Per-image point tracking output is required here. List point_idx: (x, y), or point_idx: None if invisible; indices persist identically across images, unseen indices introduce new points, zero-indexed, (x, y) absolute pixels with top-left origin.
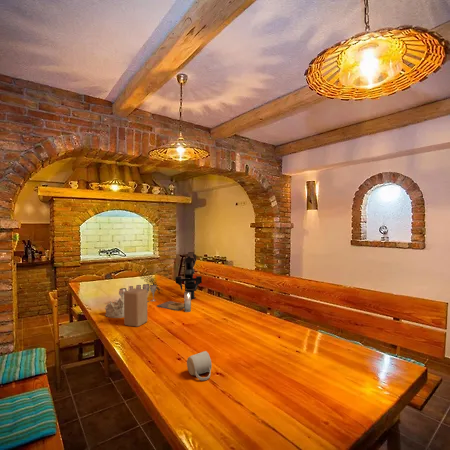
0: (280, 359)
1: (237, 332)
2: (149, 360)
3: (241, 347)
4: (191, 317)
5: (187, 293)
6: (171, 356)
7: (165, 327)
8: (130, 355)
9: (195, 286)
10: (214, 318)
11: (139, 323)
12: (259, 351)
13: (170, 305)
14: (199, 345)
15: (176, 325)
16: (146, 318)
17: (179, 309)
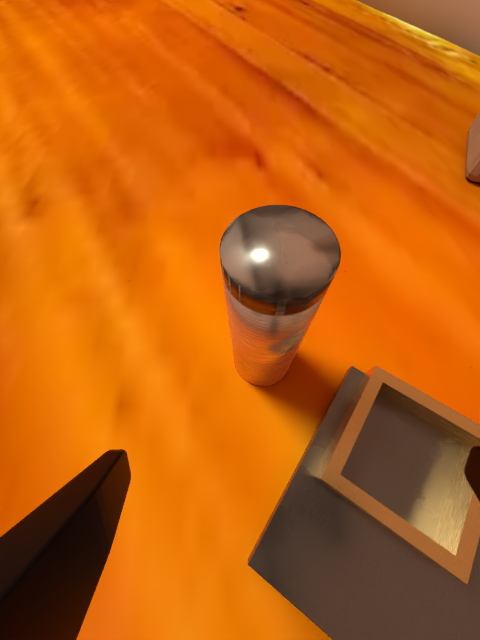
0: (15, 9)
1: (43, 95)
2: (306, 5)
3: (76, 36)
4: (222, 231)
5: (271, 214)
6: (259, 13)
7: (334, 130)
8: (363, 15)
9: (41, 517)
10: (86, 213)
11: (475, 121)
12: (40, 26)
13: (464, 416)
14: (189, 42)
15: (289, 145)
16: (477, 150)
17: (341, 384)
